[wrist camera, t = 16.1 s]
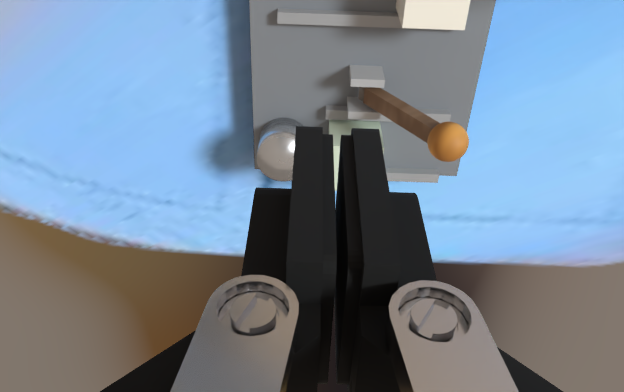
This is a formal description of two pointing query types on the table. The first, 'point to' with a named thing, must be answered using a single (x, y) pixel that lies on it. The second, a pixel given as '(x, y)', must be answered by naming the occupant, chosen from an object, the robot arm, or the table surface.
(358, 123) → the slider green
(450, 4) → the block
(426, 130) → the lever
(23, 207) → the table surface
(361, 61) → the panel
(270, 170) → the button
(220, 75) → the table surface
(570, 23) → the table surface
